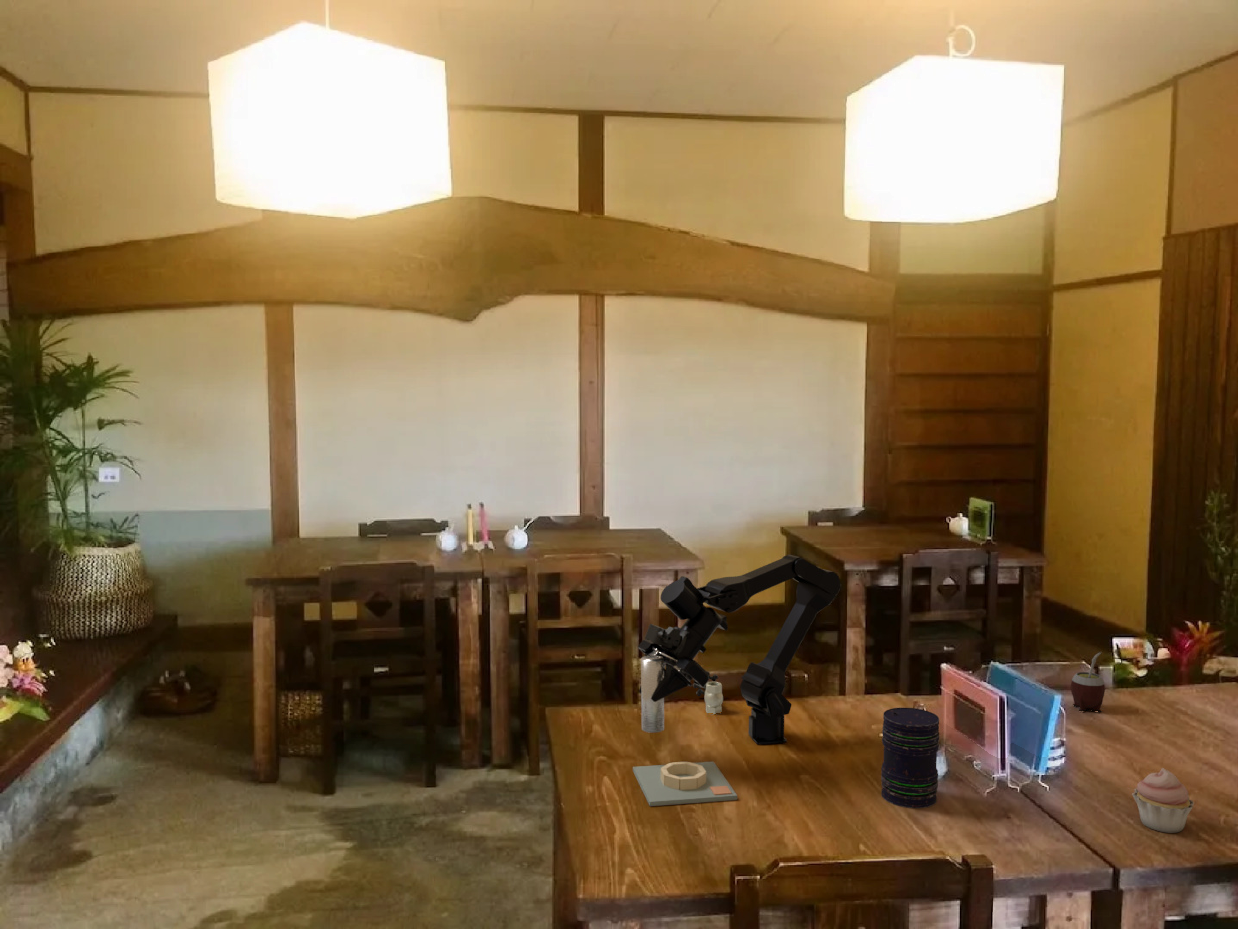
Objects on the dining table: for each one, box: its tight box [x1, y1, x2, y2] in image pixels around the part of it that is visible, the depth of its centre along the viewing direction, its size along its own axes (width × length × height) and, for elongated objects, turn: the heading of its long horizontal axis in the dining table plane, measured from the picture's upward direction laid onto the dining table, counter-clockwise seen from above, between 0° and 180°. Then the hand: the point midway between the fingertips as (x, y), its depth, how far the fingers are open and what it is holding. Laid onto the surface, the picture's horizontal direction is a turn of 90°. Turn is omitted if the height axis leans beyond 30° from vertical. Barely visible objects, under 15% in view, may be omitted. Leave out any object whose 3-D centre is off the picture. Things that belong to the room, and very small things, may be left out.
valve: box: [692, 670, 724, 715], centre depth 229 cm, size 7×7×12 cm
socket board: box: [632, 761, 738, 807], centre depth 185 cm, size 16×16×3 cm
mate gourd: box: [1070, 651, 1106, 713], centre depth 227 cm, size 8×8×15 cm
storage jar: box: [880, 707, 940, 809], centre depth 180 cm, size 10×10×15 cm
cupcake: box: [1131, 767, 1195, 834], centre depth 169 cm, size 9×9×10 cm
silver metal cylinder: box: [640, 655, 665, 734], centre depth 194 cm, size 4×4×14 cm
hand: (646, 697), depth 194 cm, fingers closed on silver metal cylinder, 4 cm apart
